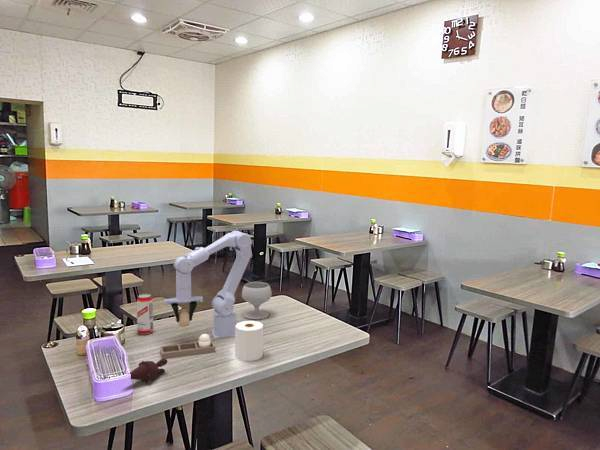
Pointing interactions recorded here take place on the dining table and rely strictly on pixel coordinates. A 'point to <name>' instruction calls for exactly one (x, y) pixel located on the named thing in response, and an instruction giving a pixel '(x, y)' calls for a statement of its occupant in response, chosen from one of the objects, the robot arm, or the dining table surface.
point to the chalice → (256, 298)
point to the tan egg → (184, 318)
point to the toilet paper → (249, 340)
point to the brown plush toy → (148, 370)
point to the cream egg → (204, 341)
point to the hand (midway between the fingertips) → (184, 320)
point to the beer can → (144, 314)
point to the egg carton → (185, 350)
